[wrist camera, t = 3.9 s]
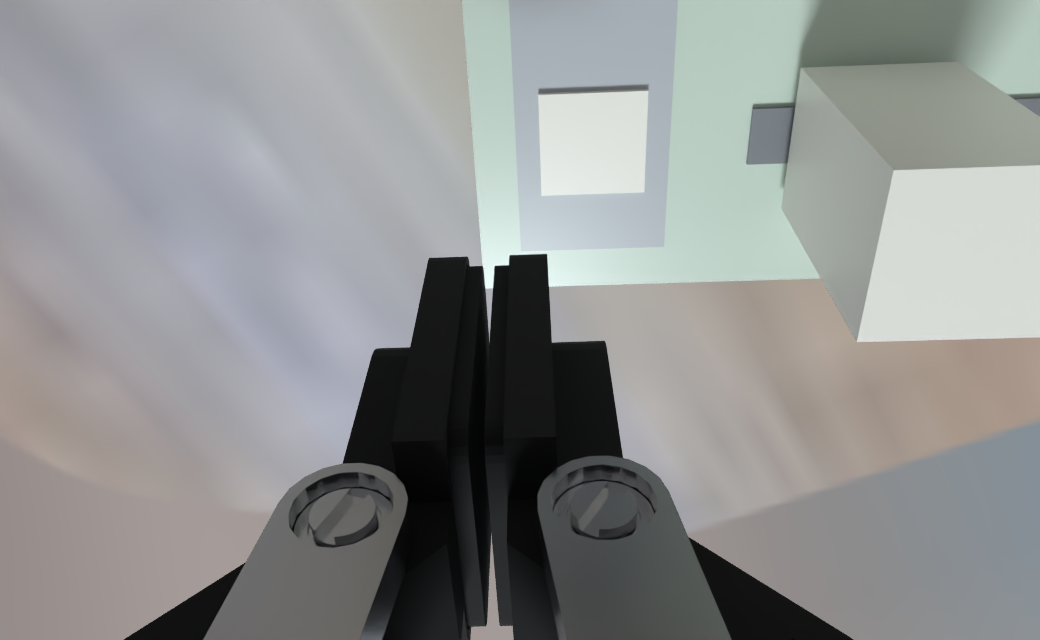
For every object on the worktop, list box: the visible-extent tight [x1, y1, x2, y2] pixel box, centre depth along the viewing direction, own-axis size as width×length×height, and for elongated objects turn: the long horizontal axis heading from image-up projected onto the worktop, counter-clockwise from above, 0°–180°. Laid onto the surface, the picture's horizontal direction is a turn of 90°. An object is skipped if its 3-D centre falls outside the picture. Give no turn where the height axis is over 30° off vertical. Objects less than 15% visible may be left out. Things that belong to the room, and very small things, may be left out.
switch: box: [781, 62, 1040, 342], centre depth 15 cm, size 3×3×5 cm
